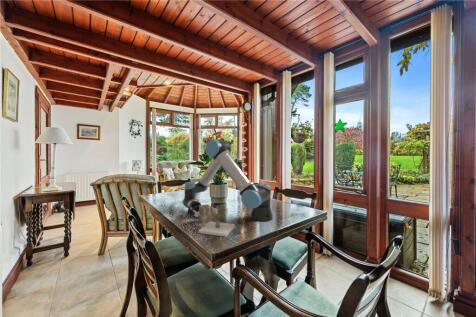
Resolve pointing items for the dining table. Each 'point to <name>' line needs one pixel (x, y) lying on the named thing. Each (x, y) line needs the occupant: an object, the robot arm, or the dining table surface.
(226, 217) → the dining table surface
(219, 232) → the base plate
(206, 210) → the birch sleeve
